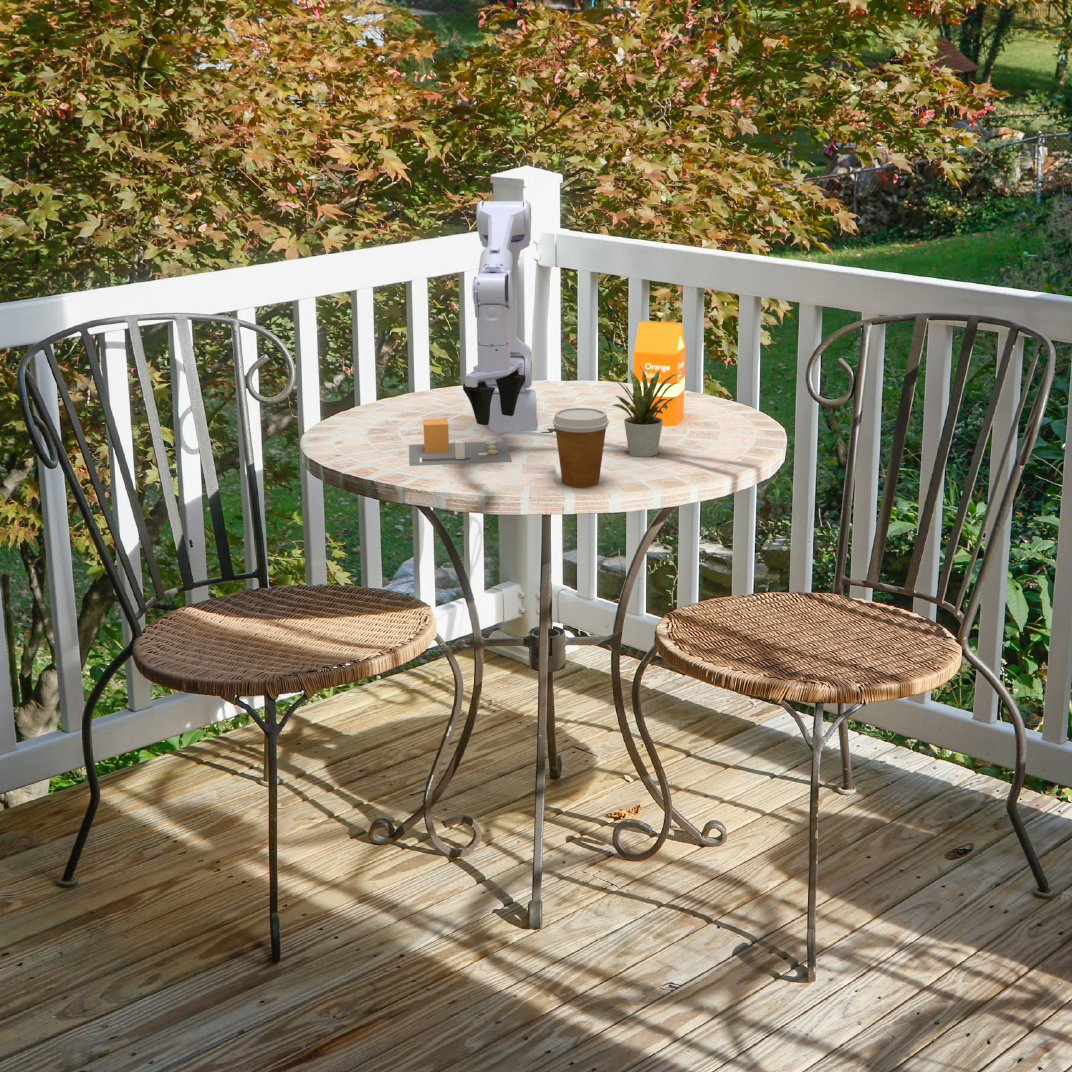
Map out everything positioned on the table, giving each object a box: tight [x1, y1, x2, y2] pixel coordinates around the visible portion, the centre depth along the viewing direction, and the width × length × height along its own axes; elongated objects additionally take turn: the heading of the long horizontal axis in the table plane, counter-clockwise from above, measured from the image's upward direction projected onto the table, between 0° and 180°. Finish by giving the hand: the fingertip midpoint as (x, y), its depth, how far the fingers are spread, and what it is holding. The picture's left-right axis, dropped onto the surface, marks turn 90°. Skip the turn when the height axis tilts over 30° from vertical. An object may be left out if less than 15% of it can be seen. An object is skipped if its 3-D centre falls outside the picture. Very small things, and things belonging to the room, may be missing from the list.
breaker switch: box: [454, 439, 465, 459], centre depth 232 cm, size 2×2×3 cm
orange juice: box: [632, 320, 686, 427], centre depth 260 cm, size 8×9×20 cm
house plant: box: [606, 365, 683, 458], centre depth 237 cm, size 14×14×16 cm
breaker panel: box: [408, 440, 513, 467], centre depth 236 cm, size 18×14×2 cm
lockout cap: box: [422, 417, 450, 453], centre depth 238 cm, size 4×4×5 cm
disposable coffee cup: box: [552, 407, 610, 488], centre depth 221 cm, size 10×10×12 cm
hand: (495, 419), depth 231 cm, fingers open, 7 cm apart
